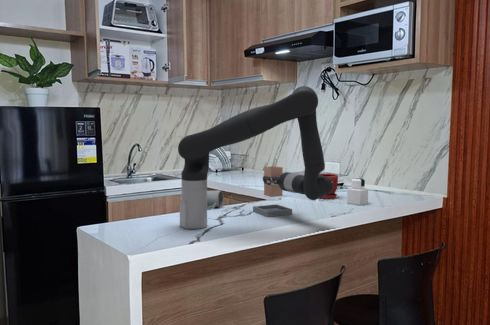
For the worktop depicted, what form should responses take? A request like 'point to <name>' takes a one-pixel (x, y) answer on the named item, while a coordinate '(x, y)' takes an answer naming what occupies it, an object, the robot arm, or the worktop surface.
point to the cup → (274, 171)
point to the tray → (272, 210)
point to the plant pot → (335, 182)
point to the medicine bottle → (357, 192)
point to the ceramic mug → (214, 199)
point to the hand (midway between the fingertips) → (270, 178)
